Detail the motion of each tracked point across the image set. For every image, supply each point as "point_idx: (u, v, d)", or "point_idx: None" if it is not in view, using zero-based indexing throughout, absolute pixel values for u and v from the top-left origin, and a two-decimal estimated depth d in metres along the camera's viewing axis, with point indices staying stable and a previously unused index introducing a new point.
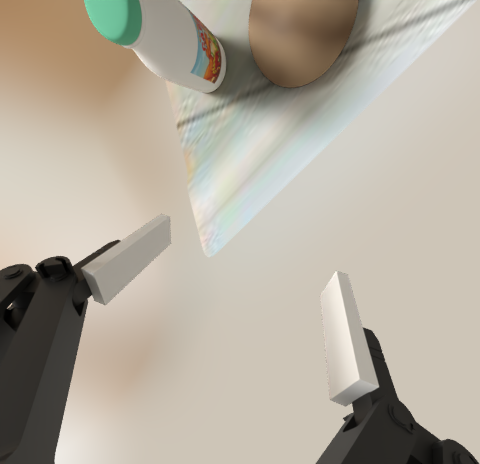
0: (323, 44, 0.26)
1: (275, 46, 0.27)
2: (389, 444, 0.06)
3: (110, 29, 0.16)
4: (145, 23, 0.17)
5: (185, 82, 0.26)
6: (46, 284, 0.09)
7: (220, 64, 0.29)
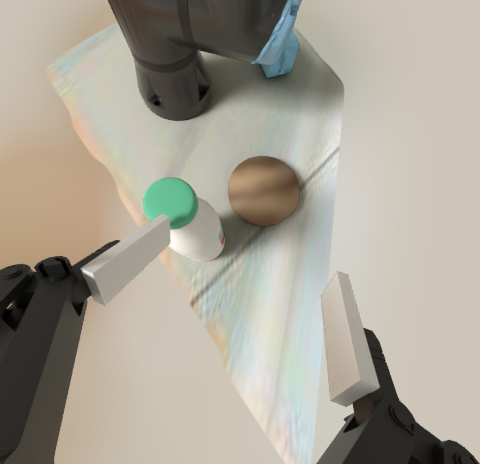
0: (287, 192, 0.36)
1: (257, 205, 0.36)
2: (390, 445, 0.06)
3: (175, 216, 0.16)
4: (199, 205, 0.18)
5: (211, 249, 0.26)
6: (45, 284, 0.09)
7: None
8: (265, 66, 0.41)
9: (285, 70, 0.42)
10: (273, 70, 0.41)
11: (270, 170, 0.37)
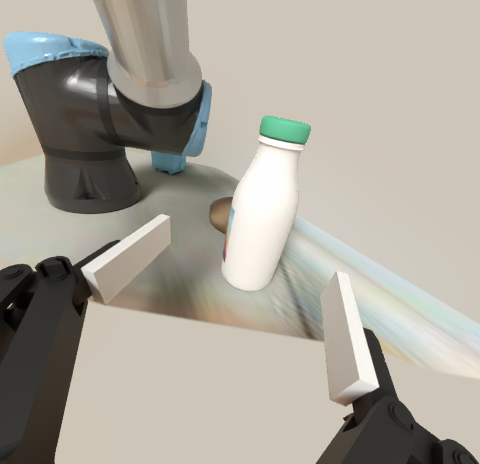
0: None
1: None
2: (389, 444, 0.06)
3: (304, 123, 0.17)
4: (288, 142, 0.20)
5: None
6: (46, 284, 0.09)
7: None
8: (168, 167, 0.53)
9: (182, 167, 0.57)
10: (175, 167, 0.54)
11: None
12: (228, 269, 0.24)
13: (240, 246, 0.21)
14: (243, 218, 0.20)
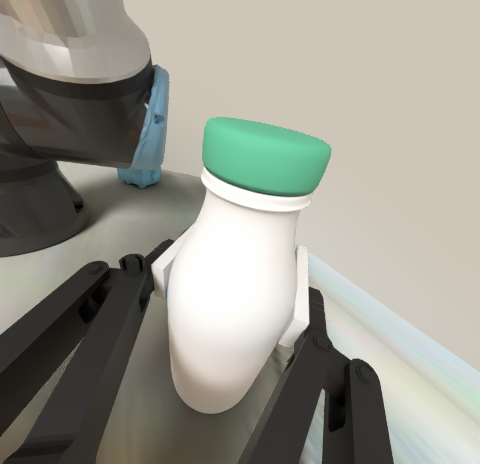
0: None
1: None
2: (314, 366, 0.08)
3: (315, 138, 0.07)
4: None
5: None
6: (123, 277, 0.10)
7: None
8: (137, 179, 0.43)
9: (156, 179, 0.47)
10: (146, 179, 0.44)
11: None
12: (175, 381, 0.14)
13: (183, 369, 0.11)
14: (180, 334, 0.09)
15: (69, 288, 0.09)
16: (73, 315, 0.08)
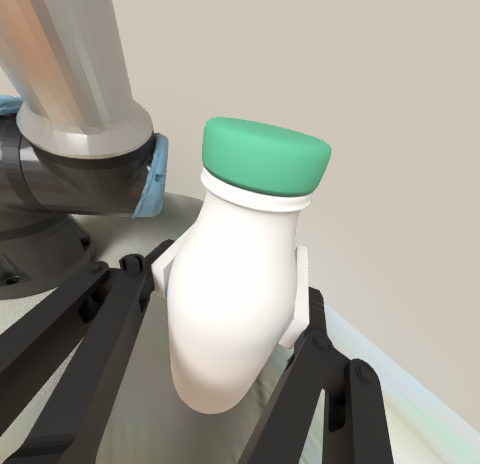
0: None
1: None
2: (314, 366, 0.08)
3: (315, 139, 0.06)
4: None
5: None
6: (123, 277, 0.10)
7: None
8: None
9: None
10: None
11: None
12: (175, 381, 0.14)
13: (183, 369, 0.11)
14: (180, 335, 0.09)
15: (69, 288, 0.09)
16: (73, 315, 0.08)
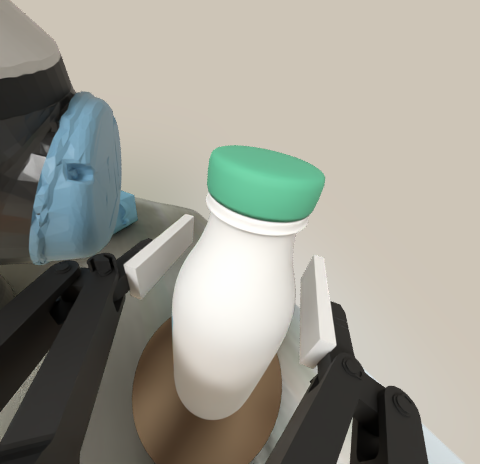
0: None
1: None
2: (343, 392, 0.07)
3: (310, 168, 0.07)
4: None
5: None
6: (93, 278, 0.09)
7: None
8: None
9: (130, 220, 0.36)
10: None
11: None
12: (178, 388, 0.15)
13: (187, 377, 0.12)
14: (185, 345, 0.10)
15: (37, 290, 0.08)
16: (44, 316, 0.08)
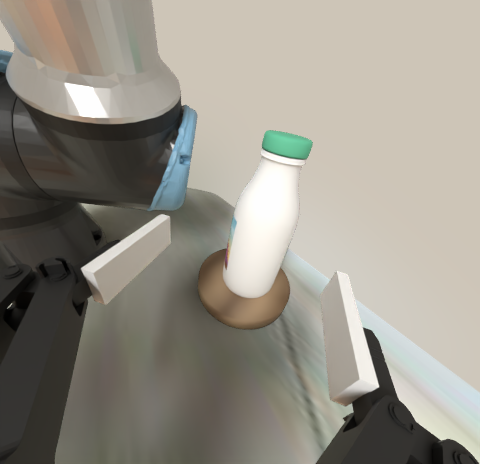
0: None
1: None
2: (389, 444, 0.06)
3: (306, 138, 0.17)
4: None
5: None
6: (46, 284, 0.09)
7: None
8: None
9: None
10: None
11: None
12: (230, 277, 0.25)
13: (241, 255, 0.22)
14: (245, 229, 0.20)
15: None
16: None
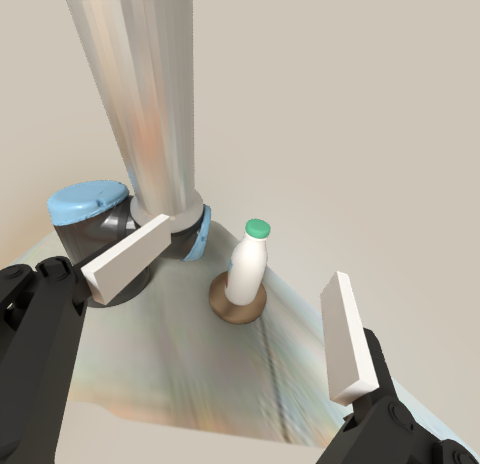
0: None
1: None
2: (389, 444, 0.06)
3: (267, 227, 0.34)
4: None
5: None
6: (46, 284, 0.09)
7: None
8: None
9: None
10: None
11: None
12: (229, 293, 0.42)
13: (235, 282, 0.39)
14: (237, 269, 0.37)
15: None
16: None
